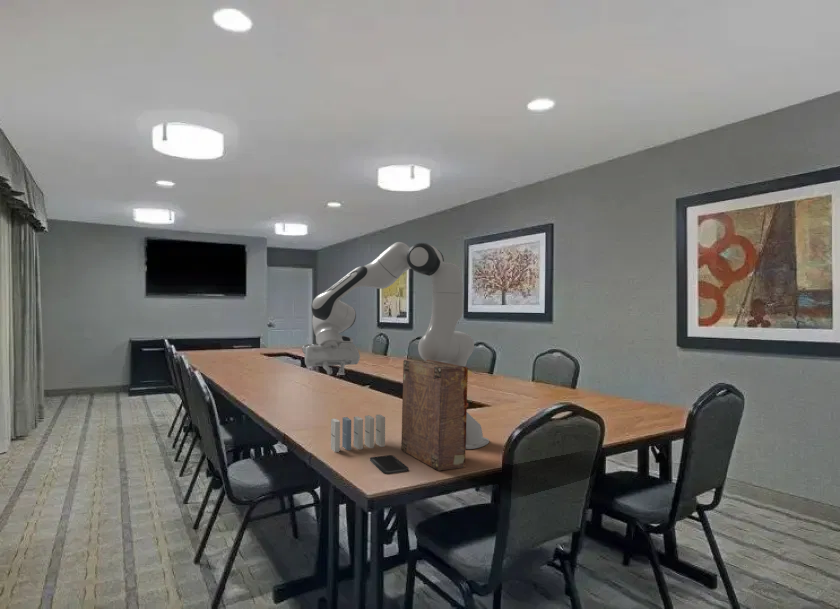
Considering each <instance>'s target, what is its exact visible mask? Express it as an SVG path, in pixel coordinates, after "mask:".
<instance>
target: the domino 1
mask: <svg viewBox="0 0 840 609" xmlns="http://www.w3.org/2000/svg"><path fill="white" fill-rule="evenodd" d="M340 442H341V421H340V420H339V419H337V418H336V417H335V418H331V419H330V450H332V452H334V453H340V452H339V451H340V450H341V447H340V445H341V443H340Z"/></svg>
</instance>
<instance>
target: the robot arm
mask: <svg viewBox="0 0 840 609" xmlns="http://www.w3.org/2000/svg"><path fill="white" fill-rule="evenodd" d="M408 270H412V271H414V272H415V273H418V274H419V275H423V276H428V277H430V280H431V282H432V283H431V284H432V292H431V293H432V298H431V302H432V304H431V317H430V321H429V324H428V327H427V329H426V331H425V333H424V334H423V336H422V337H421V338H420V340H419V342H418V345H417V349H418V355H419V356H420V358H421V359H422V361H426V360H427V359H429V360H434V361H439V362H444V363H449V364H454V365H459V366H464V367H467V366H466V365H467V362H468V360H469V358H470V357H471V355H472V354H473V352H474V350H475V342H474V339H473V338H472V336H471V335H470V334H468V333H467V332H463V331H459V330H456V327H457V323H458V322H459V321H460V319H461V318H462V316H463V313H464V312H463V311H464V310H463V309H464V307H463V306H464V302H463V301H464V295H463V294H464V287H463V285H464V284H463V277H462V272H461V271H462V270H461V268H460V267H459V265H457V264H455V263H453V262H445V258H444V255H443V253H442V252H441V251H440V250H439V249H437V248H436V247H435V246H433V245H431V244H429V243H427V242H418V243H415V244H413V245H412V246H409V245H408V244H406V243H405V242H401V241H397V242H394V243H392V244H391V245H389V247H388V248H387V247H386V249H385V250H384V251H382V252H381V253H380V254H379V255H378V256H377V257H376V258H375V259H374V260H373V261H371V262H369V263H368V264H365V265H363V266H362V265H361V266H357V267H356V268H354V269H352V270H351V271H350V272H348V273H347V274H346V275H344V276H343V277H342V278H341V279H339V280H338V281H337V282H336V283H334V284H333V285H331V286H330V287H329V288H327V289H326V290H324V291H322V292H321V293H319V294H317V295H316V296H315V297H314V298H313V300H312V301H311V311H312V315H313V316H312V322H311V323H312V329H313V333H314V335H315V343H313V344H312V343H311V344H307V343H306V344H304V345H303V346H302V349H301V350H302V353H303V354H304V364H305V366H306V367H311V368H312V367H322V368H323V369H324V370H325V372H326V373H327V375H333V368H332V366H340V367H339V368H338V373H339V374H344V373H345V366H347V365H348V366H350V365H351V366H352V365H358V364H359V362H360V360H361V356H360V353H359V349H358V346H356V344H354V339H353V338H352V337H350V336H346V335H342V334H341V333H344V332H346V331H347V330H349V329H350V328H352V327H353V325H354V324H355V322H356V319H357V313H356V309H355V308H354V307H352V305H349V304H347V302H344V301H342V300H341V299H342V298H344V297H345V296H346V295H347V294H349V293H350V292H352V290H354V289H357V288H360V287H361V288H362V287H363V288H364V287H366V288H374V289H377V290H379V289H387V288H388V287H390V286H392V285H393V284H394V283H395V282H396V281H397V280H398V279H399V278H400V277H401V276H402V275H403V274H404V273H405V272H406V271H408ZM330 366H331V367H330ZM467 407H469V403H468V402H467ZM489 443H490V439H489V438H487V437H484V435H483V429H482V425H481V424H480V423H479V422H478V421H477V420H476V419H475V418H474V417H473V416H472V415H471V414H470V413H469V412H467V416H466V450H472V449H474V450H475V449H479V448H482V447H484V446H487V445H488V444H489Z"/></svg>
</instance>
